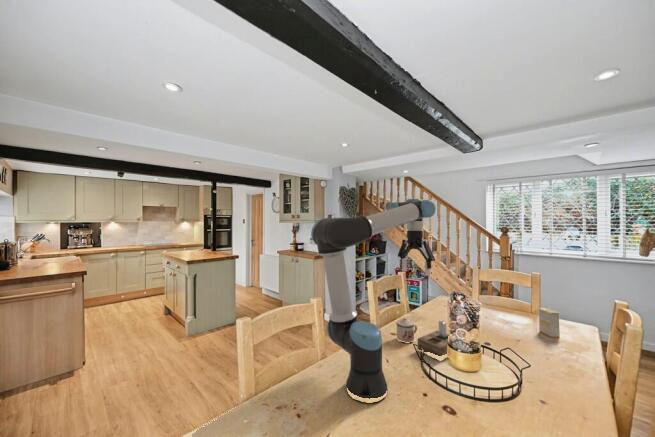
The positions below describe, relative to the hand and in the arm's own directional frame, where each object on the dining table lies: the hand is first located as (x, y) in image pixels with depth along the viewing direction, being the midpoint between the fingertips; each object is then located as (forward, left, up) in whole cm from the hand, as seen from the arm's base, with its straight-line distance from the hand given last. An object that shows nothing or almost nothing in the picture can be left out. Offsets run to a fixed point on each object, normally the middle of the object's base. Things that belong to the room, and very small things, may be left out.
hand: (415, 273), depth 130 cm
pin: (+10, -8, -36) cm, 38 cm away
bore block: (+6, -8, -37) cm, 38 cm away
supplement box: (+71, -31, -37) cm, 86 cm away
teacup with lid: (+4, +9, -37) cm, 38 cm away
